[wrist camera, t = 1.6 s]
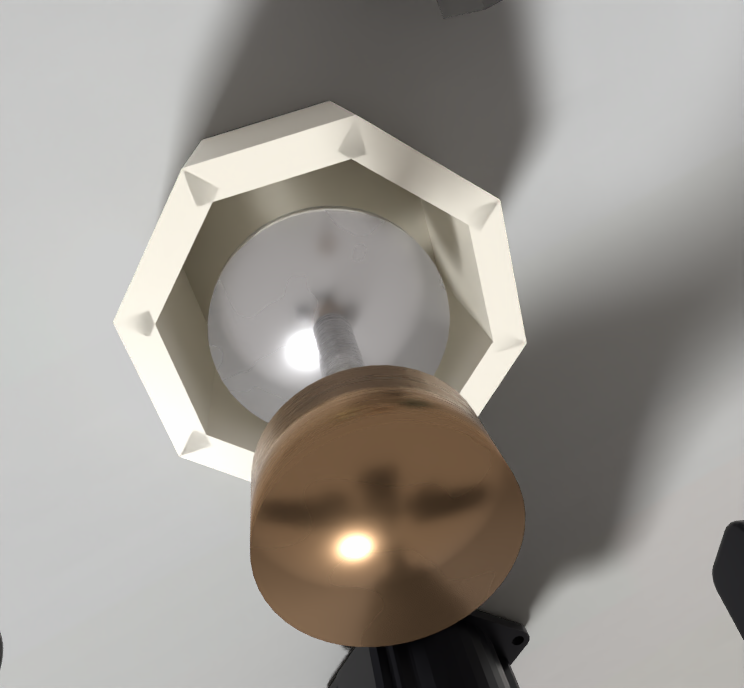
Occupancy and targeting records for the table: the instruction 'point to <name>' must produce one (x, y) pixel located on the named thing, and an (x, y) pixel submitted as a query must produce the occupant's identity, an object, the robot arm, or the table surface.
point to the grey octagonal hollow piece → (463, 6)
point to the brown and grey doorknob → (359, 433)
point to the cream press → (281, 196)
